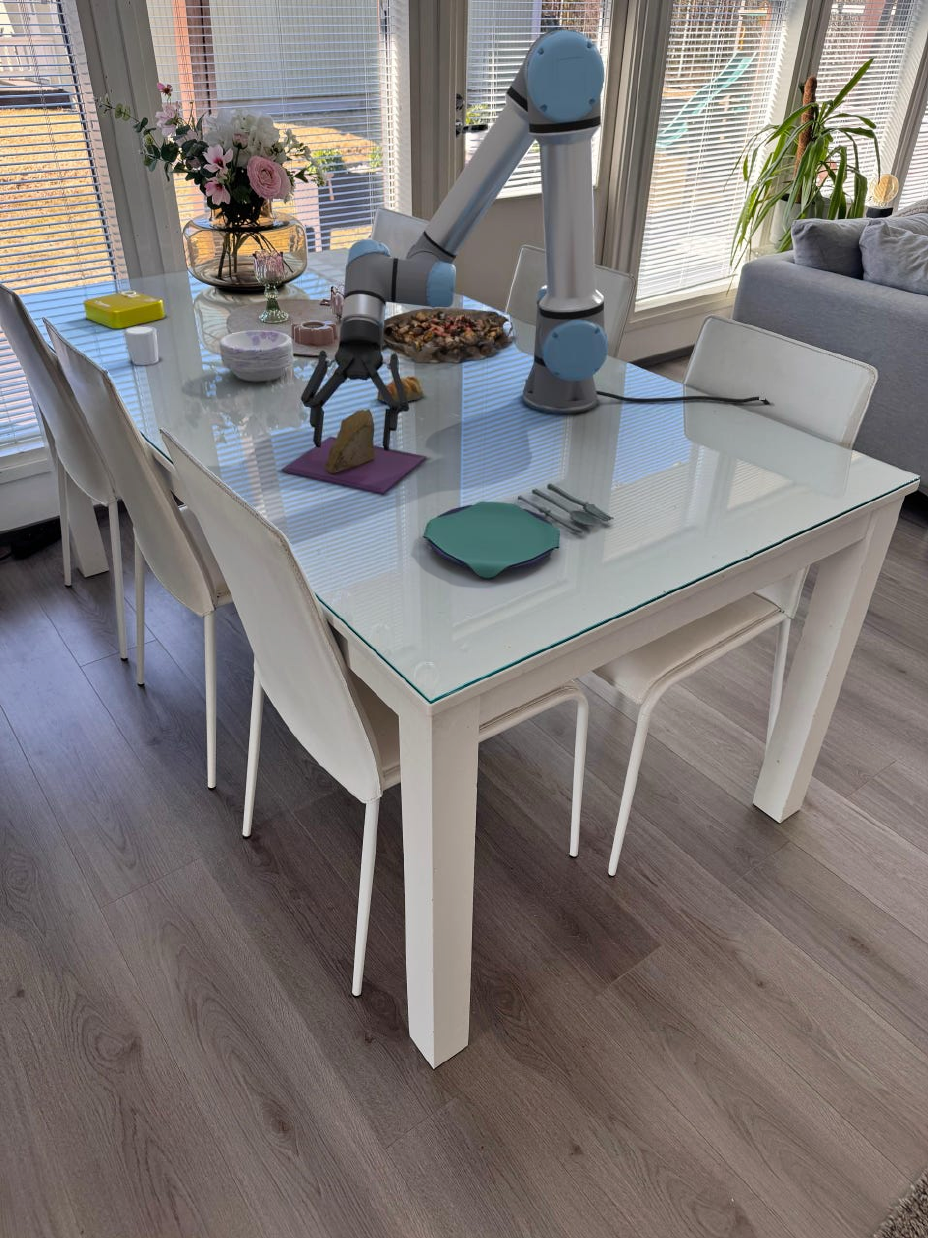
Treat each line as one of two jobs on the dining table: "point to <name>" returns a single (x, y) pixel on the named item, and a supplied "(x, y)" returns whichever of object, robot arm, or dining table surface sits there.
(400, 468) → the cloth
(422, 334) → the food dish
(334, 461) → the rock
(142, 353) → the white cylinder
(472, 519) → the cutlery set
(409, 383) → the pastry
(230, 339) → the paper bowls
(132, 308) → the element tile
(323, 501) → the dining table surface
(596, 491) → the dining table surface
